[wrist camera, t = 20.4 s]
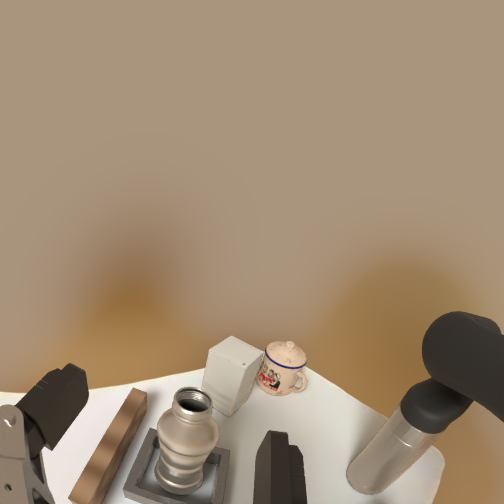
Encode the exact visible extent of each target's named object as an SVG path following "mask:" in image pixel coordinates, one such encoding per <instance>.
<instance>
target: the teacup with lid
mask: <svg viewBox="0 0 504 504" xmlns="http://www.w3.org/2000/svg"><path fill="white" fill-rule="evenodd" d="M306 360H307V358H306V355H305V353H304V352H303V351H302V350H301V349H300V348H299V347H297V346H295V344H294V343H293V342H292V341H288V342H281V341H279V342H273V343H271V344H269V345H268V346H267V347H266V349H265V355H264V358H263V361H262V364H261V366H260V369H259V372H258V375H257V378H256V381H257V384H258V386H259V387H260V388H261V389H262V390H263V391H265V392H266V393H269V394H271V395H275V396H283V395H287V394H289V393H290V392H291V391H294V392H300V391H302V390H304V389H305V388H306V386H307V383H308V381H307V378H306V376H305V375H304V374H303V373H302V372H301V370H302V368H303V366H304V365H305V364H306ZM298 377H300V378H301V380H302V386H301V388H296V387H295V386H294V385H295V383H296V381H297V379H298Z"/></svg>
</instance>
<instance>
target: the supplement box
mask: <svg viewBox="0 0 504 504" xmlns="http://www.w3.org/2000/svg"><path fill="white" fill-rule="evenodd" d="M263 354H264V352H263V351H261V350H259V349H257V348H255V347H253V346H251V345H249V344H247V343H245V342H243V341H241V340H239V339H237V338H235V337H233V336H230V337H229V338H227V339H225V340H224V341H222V342H221V343H219V344H217V345H215V346H214V347H212V348H210V349H209V354H208V359H207V363H206V368H205V373H204V377H203V382H202V387H201V390H203V391H205V392H207V393H208V394H209V395H210V396H211V398H212V400H213V407H214V408H215V409H217V410H218V411H220V412H222V413H223V414H225V415H227V416H228V417H230V416H231V415H232V414H233V413H234V412H235V411H236V410H237V409H238V408H239V407H240V406H241V405H242V404H243V403H244V402H245V401H246V400H247V399H248V397H249V394H250V391H251V388H252V385H253V383H254V380H255V377H256V374H257V371H258V368H259V366H260V363H261V360H262V357H263Z"/></svg>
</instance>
